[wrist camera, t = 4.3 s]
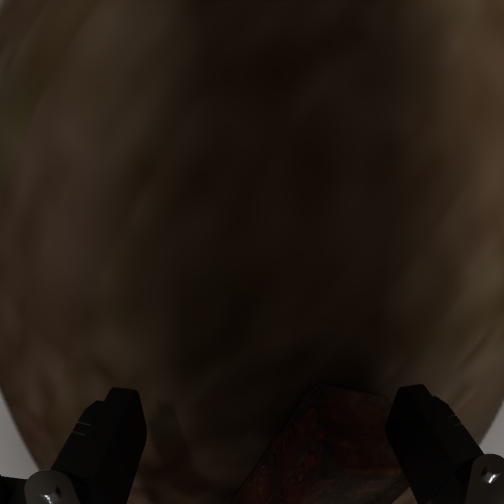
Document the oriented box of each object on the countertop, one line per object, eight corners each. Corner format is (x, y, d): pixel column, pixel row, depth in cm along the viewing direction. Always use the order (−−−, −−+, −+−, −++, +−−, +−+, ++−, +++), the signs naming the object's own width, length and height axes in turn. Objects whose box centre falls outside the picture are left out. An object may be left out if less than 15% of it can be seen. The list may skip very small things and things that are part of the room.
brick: (304, 374, 11) (330, 470, 7) (387, 390, 12) (432, 469, 7) (223, 504, 14) (219, 570, 9) (287, 513, 14) (294, 574, 9)
